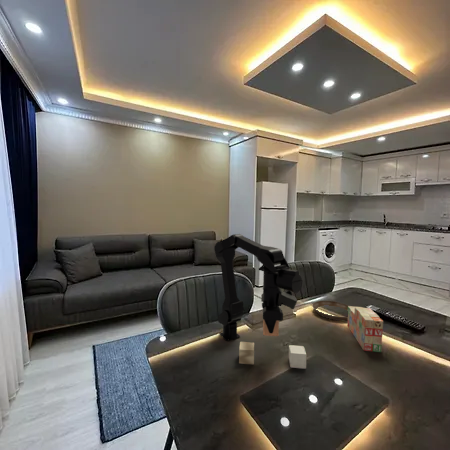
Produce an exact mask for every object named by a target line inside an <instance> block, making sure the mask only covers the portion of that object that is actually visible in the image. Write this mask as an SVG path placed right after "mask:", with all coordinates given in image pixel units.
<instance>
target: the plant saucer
mask: <svg viewBox="0 0 450 450" xmlns="http://www.w3.org/2000/svg"><path fill="white" fill-rule="evenodd" d="M324 305H329V306H335V307H340V308H343V309H345V310H347V311H348V306H350V305H348V304H346V303H342V302H338V301H333V300H318V301H315V302H313V303H312V308H313V310H314V311H315V312H316V313H317V314H318V315H319V316H321V317H322V318H325V317H326V318H325V319H328V318H329V320H332V319H333V321H339V320H344V321H348V317H338V316H332V315H328V314H324V313H322V312H319V311H318V310H316V309H317V308H318V307H320V306H324Z"/></svg>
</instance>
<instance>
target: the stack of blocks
mask: <svg viewBox="0 0 450 450" xmlns="http://www.w3.org/2000/svg"><path fill="white" fill-rule="evenodd" d="M347 326H348V327H347V328H348V329H349V330H350V332H351V333H352V335H353V336H354V338H355V340H356V341H357V343H358V344H359V345H360V347H361V348H362V350H363V351H365V352H375V353H382V348H383V347H382V345H383V344H382V343H383V332H384V330H383V328H384V320H383V319H382V318H380V316H379V315H378V314H377V313H376V312H374V310H372V308H370V307H362V306H351V305H349V306H348V320H347Z"/></svg>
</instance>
